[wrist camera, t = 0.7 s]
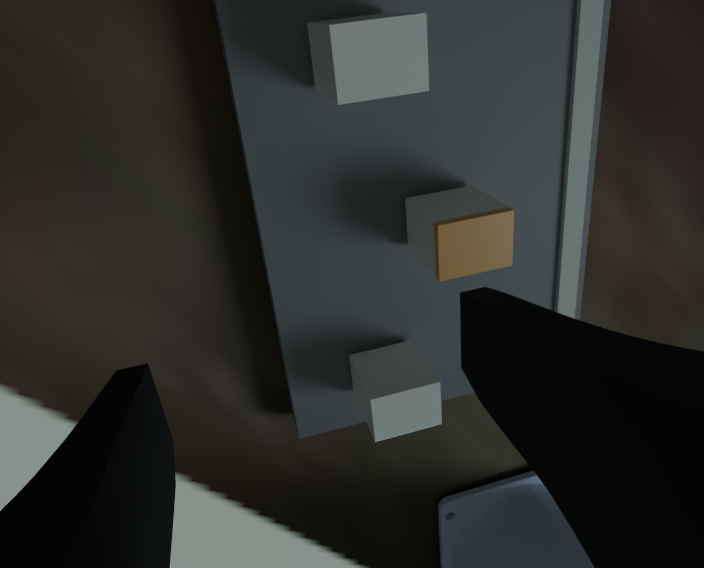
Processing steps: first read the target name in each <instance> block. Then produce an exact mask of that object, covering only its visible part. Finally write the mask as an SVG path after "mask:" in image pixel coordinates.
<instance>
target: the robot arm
mask: <svg viewBox="0 0 704 568" xmlns="http://www.w3.org/2000/svg"><path fill="white" fill-rule="evenodd" d="M460 327H461V368H462V370H463V372H464V374H465V375H466V377H467V379H468V381H469V383H470V385H471V387H472V388H473V390H474V392H475V393H476V395H477V397H478V399H479V400H480V402H481V403H482V405H483V406H484V407H485V409H486V410H487V411H488V413H489V414H490V415H491V417H492V418H493V419H494V421H495V422H496V423H497V425H498V426H499V427H500V429H501V430H502V431H503V432H504V434H505V435H506V436H507V438H508V439H509V440H510V441H511V443H512V444H513V445H514V447H515V448H516V449H517V450H518V452H519V453H520V454H521V456H522V457H523V458H524V459H525V461H526V462H527V463H528V465H529V466H530V467H531V468H532V470H533V471H530V472H527V473H523V474H520V475H517V476H513V477H510V478H507V479H504V480H500V481H497V482H494V483H490V484H487V485H484V486H480V487H477V488H474V489H470V490H467V491H464V492H460V493H457V494H454V495H450V496H447V497H445V498H443V499H442V500H441V501H440V502H439V504H438V518H439V540H440V562H441V568H704V351H698V350H692V349H686V348H681V347H676V346H671V345H666V344H662V343H657V342H653V341H649V340H645V339H641V338H637V337H633V336H629V335H625V334H622V333H618V332H614V331H611V330H608V329H605V328H602V327H598V326H595V325H592V324H589V323H586V322H583V321H580V320H577V319H574V318H571V317H568V316H566V315H563V314H560V313H557V312H555V311H552V310H549V309H547V308H544V307H541V306H539V305H536V304H533V303H531V302H528V301H526V300H523V299H520V298H518V297H515V296H512V295H509V294H507V293H504V292H501V291H498V290H495V289H492V288H488V287H482V288H477V289H473V290H468V291H464V292H460ZM175 485H176V482H175V463H174V448H173V439H172V436H171V433H170V430H169V427H168V424H167V421H166V418H165V415H164V412H163V408H162V405H161V402H160V399H159V396H158V393H157V390H156V387H155V384H154V381H153V378H152V375H151V372H150V369H149V366H148V364H143V365H139V366H134V367H130V368H126V369H121V370H117V371H116V372H115V373H114V374H113V376H112V377H111V378H110V380H109V381H108V383H107V384H106V385H105V387H104V388H103V389H102V391H101V392H100V394H99V395H98V396H97V398H96V399H95V401H94V402H93V403H92V405H91V406H90V407H89V409H88V410H87V412H86V413H85V414H84V416H83V417H82V418H81V420H80V421H79V422H78V424H77V425H76V426H75V427H74V429H73V430H72V431H71V433H70V434H69V435H68V437H67V438H66V439H65V440H64V442H63V443H62V444H61V445H60V447H58V449H57V450H56V451H55V452H54V453H53V455H52V456H51V457H50V458H49V459H48V461H47V462H46V463H45V464H44V465H43V467H42V468H41V469H40V470H39V471H38V473H37V474H36V475H35V476H34V477H33V478H32V479H31V480H30V481H29V482H28V483H27V484H26V486H25V487H24V488H23V489H22V490H21V491H20V492H19V493H18V494H17V495H16V496H15V497H14V498H13V499H12V500H11V501H10V502H9V503H8V504H7V505H6V506H5V507H4V508H3V509H2V510H1V511H0V568H169V567H170V554H171V542H172V529H173V516H174V502H175V501H174V500H175V487H176V486H175Z"/></svg>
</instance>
